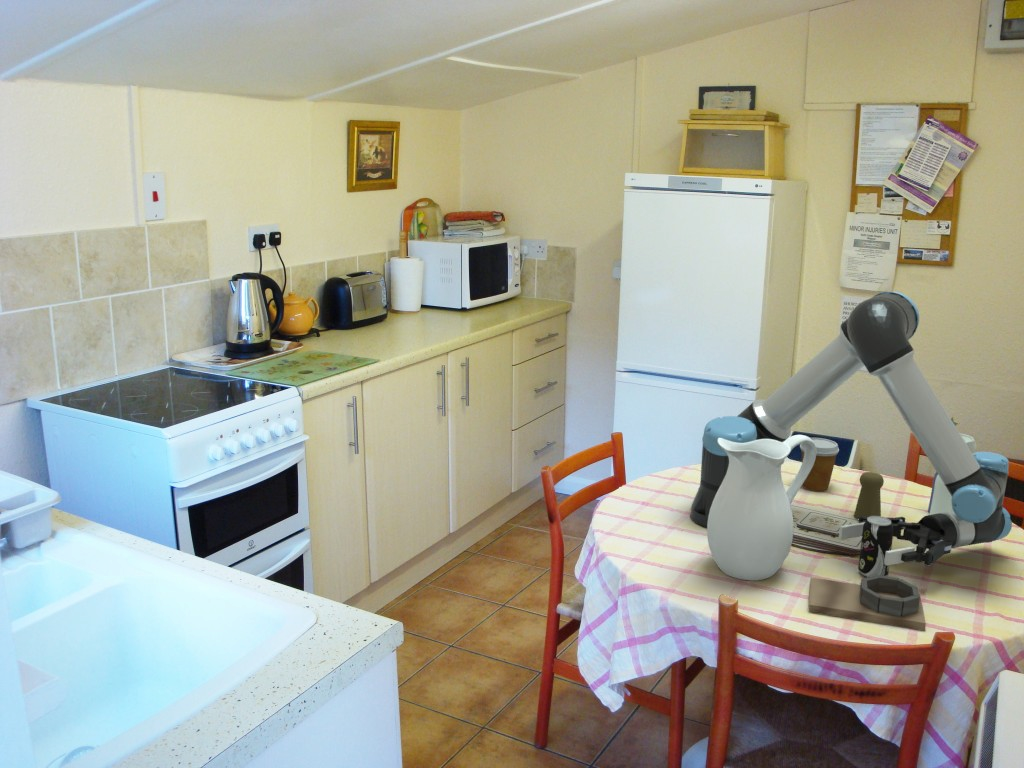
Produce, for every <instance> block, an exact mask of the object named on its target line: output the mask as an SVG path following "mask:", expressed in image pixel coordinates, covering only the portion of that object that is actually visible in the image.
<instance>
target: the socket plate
mask: <svg viewBox="0 0 1024 768" xmlns="http://www.w3.org/2000/svg"><path fill="white" fill-rule="evenodd" d="M809 581H810V582H809V593H808V594H809V597H808V598H809V599H808V613H814V614H820V615H824V616H825V615H827V616H831V617H832V616H833V617H839V618H844V619H851V620H858V621H862V622H870V623H875V624H880V625H881V624H882V625H888V626H893V627H899V628H907V629H913V630H919V631H925V630H926V626H927V625H926V624H927V623H926V617H925V611H924V608H923V602H922V597H921V593H920V592H919V591H920V589H919V587H918V586H917V585H914V584H912V583H910V582H908V581H906V580H904V579H902V578H899V577H895V576H894V577H892V576H888V575H887V576H881V575H878V576H877V575H875V576H871V577H864V578H861V580H860V584H856V583H851V582H844V581H839V580H833V579H832V580H830V579H825V578H819V577H810V580H809Z"/></svg>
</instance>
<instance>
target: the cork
mask: <svg viewBox="0 0 1024 768" xmlns="http://www.w3.org/2000/svg"><path fill="white" fill-rule="evenodd" d="M884 482H885V481H884V477H883V475H882V474H880V473H878V472H874V471H873V472H872V471H866V472H863V473H862V474H861V475H860V478H859V484H860V486H861V487H860V491H859V494H858V498H857V502H856V506H855V509H854V514H853V517H854V519H856V520H858V519H859V517H870V516H881V517H882V509H881V507H882V506H881V504H882V503H881V502H882V501H881V498H882V497H881V488H883V486H884Z"/></svg>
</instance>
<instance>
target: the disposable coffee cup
mask: <svg viewBox="0 0 1024 768" xmlns="http://www.w3.org/2000/svg"><path fill="white" fill-rule="evenodd" d="M809 438H810V439H812V440H813V442H814V443H815V445H816V450H817V453H816V459H815V462H814V465H813V467H812V469H811V471H810V473H809V474H808V476H807V478H806V479H805V481H804V483H803V484H802V487H803V488H804V489H806V490H808V491H813V492H826V491H828V490H829V487H830V483H831V478H832V474H833V471H834V467H835V463H836V459H837V455H838V453H839V452H840V449H839V445H838V443H837V442H836V441H834V440H831V439H827V438H824V437H823V438H822V437H809ZM799 448H800V450H801V463H802V462H803V459H804V453H805V447H804V444H803V443H802V444H799Z"/></svg>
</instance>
